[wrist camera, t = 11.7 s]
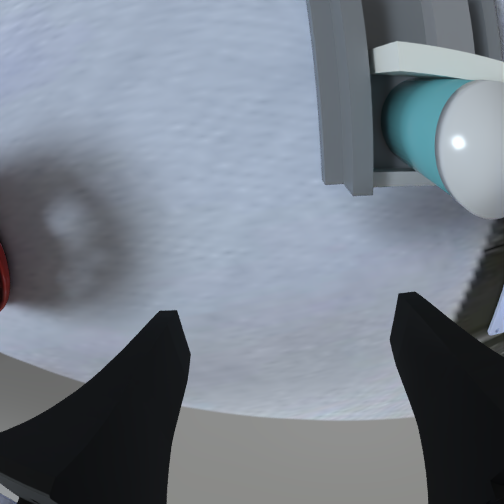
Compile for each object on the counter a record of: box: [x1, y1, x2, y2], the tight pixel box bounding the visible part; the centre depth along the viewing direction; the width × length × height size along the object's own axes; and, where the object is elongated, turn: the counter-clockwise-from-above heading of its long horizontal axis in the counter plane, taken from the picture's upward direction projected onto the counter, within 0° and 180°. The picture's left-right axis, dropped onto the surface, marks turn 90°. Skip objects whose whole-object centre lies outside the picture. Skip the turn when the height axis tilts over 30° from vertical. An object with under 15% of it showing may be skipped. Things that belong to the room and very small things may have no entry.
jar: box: [381, 78, 504, 219], centre depth 11 cm, size 5×5×7 cm
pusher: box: [368, 0, 504, 82], centre depth 10 cm, size 6×5×4 cm
